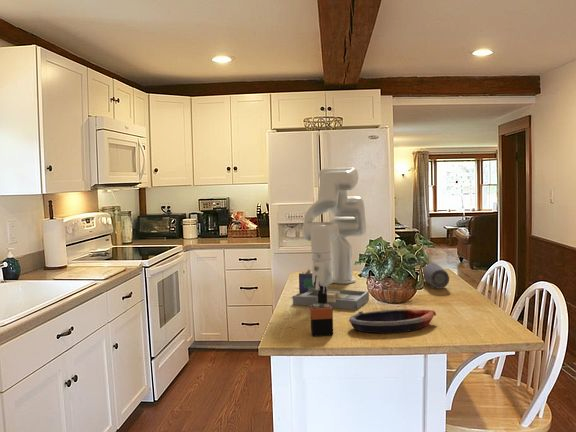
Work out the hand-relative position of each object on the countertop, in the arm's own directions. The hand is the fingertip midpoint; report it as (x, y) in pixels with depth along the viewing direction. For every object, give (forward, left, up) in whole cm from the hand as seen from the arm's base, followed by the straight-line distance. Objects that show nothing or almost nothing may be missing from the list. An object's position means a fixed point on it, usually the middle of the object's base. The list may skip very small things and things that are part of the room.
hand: (322, 302), depth 197 cm
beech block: (-7, 0, 0) cm, 7 cm away
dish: (+14, +31, -3) cm, 34 cm away
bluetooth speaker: (-54, +33, -3) cm, 64 cm away
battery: (+29, +11, -3) cm, 31 cm away
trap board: (-11, -1, -3) cm, 12 cm away
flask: (-24, -16, -3) cm, 29 cm away
